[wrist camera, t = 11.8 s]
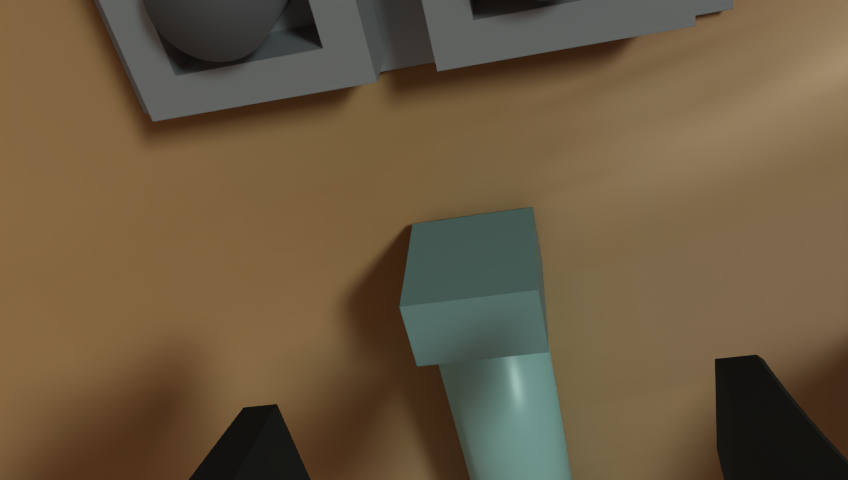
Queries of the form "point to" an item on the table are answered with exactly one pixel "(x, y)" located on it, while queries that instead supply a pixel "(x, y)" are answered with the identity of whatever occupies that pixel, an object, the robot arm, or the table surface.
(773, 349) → the table surface
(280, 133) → the table surface
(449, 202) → the table surface
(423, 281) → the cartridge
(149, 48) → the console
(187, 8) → the plunger
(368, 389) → the table surface
